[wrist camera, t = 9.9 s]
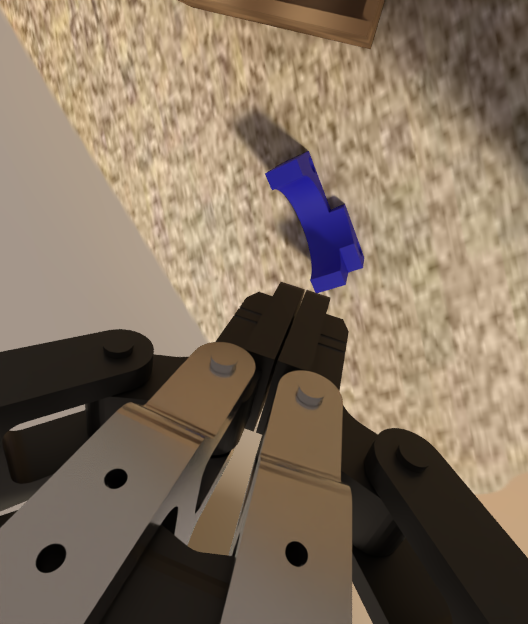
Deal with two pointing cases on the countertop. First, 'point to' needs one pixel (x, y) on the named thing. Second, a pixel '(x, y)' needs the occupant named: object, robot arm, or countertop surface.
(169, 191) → the countertop surface
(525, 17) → the countertop surface
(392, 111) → the countertop surface
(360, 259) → the blue curved stepped block
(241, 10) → the walnut box
